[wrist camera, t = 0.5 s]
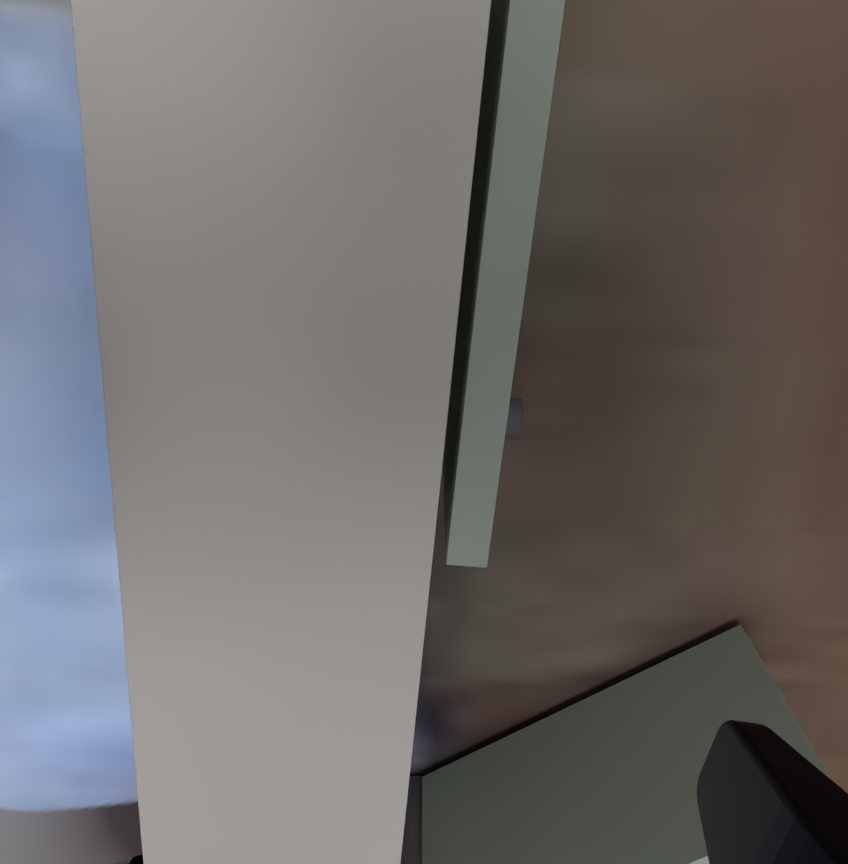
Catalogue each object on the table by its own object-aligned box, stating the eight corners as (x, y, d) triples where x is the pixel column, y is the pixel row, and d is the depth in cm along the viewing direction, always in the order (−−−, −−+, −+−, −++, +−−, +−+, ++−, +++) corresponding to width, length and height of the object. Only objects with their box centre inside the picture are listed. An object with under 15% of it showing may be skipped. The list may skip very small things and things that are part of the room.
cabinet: (456, 793, 27) (464, 1013, 21) (220, 778, 27) (154, 995, 20) (580, -100, 17) (676, -218, 10) (196, -138, 16) (47, -284, 10)
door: (427, 815, 27) (427, 1030, 21) (398, 782, 27) (389, 993, 20) (761, 659, 25) (875, 854, 18) (737, 619, 24) (846, 806, 18)
